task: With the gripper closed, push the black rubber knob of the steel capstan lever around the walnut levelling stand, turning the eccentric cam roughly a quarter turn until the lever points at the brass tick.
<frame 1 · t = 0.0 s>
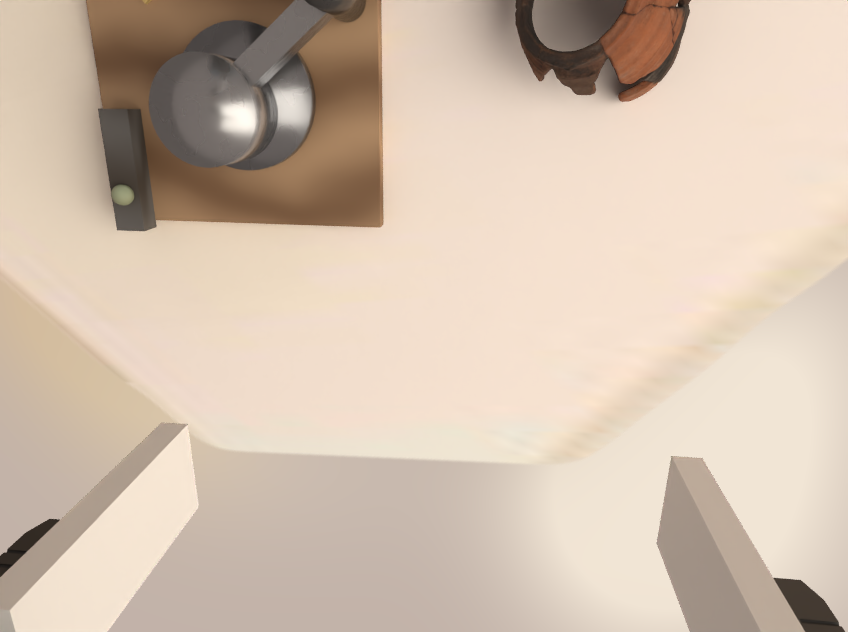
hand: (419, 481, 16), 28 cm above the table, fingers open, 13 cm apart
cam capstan: (260, 66, 36), point 5 cm above the table, hinge at 0.0°
stand board: (242, 78, 40), on the table
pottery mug: (614, 14, 37), on the table
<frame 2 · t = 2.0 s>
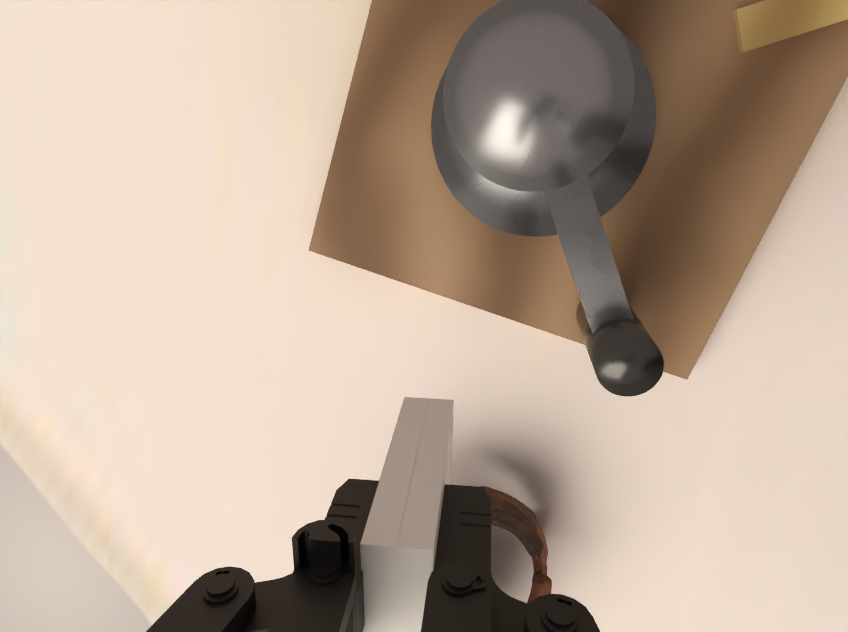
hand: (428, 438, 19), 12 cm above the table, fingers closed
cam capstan: (567, 198, 23), point 5 cm above the table, hinge at 0.0°
stand board: (571, 113, 27), on the table
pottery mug: (463, 549, 35), on the table
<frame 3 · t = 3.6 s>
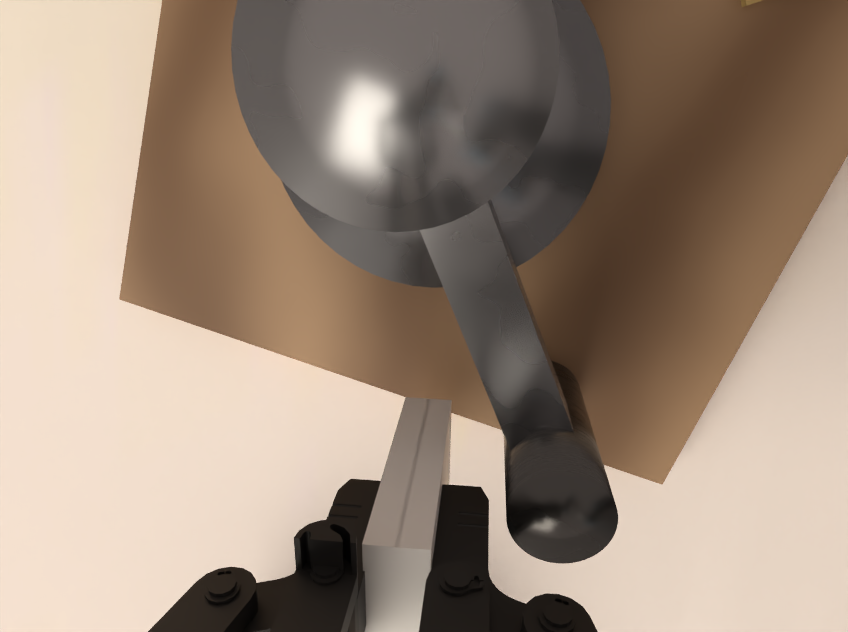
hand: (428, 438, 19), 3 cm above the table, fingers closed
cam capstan: (468, 236, 15), point 5 cm above the table, hinge at 0.3°, touching gripper
stand board: (490, 102, 18), on the table
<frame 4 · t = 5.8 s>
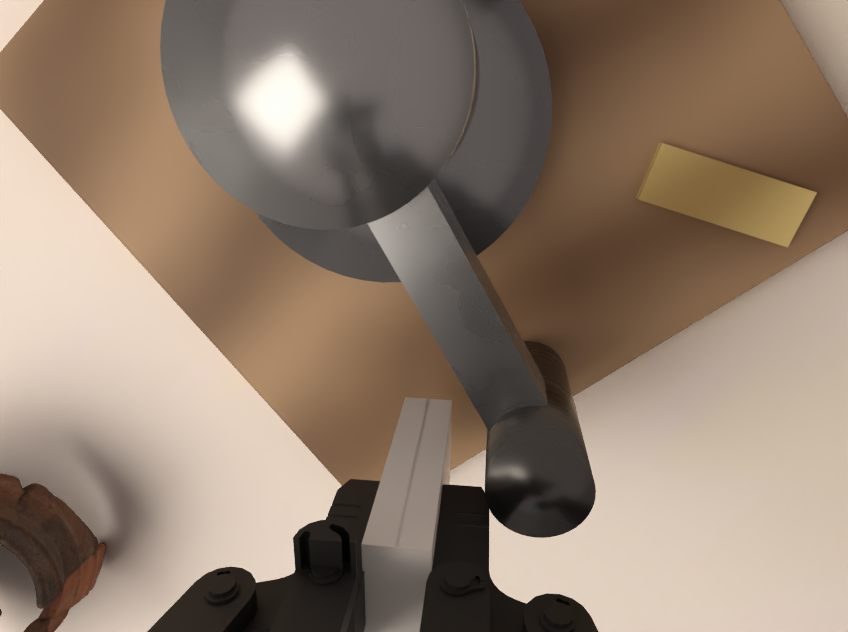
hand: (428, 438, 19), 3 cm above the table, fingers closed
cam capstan: (421, 225, 15), point 5 cm above the table, hinge at 41.3°, touching gripper
stand board: (416, 136, 19), on the table
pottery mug: (9, 533, 26), on the table
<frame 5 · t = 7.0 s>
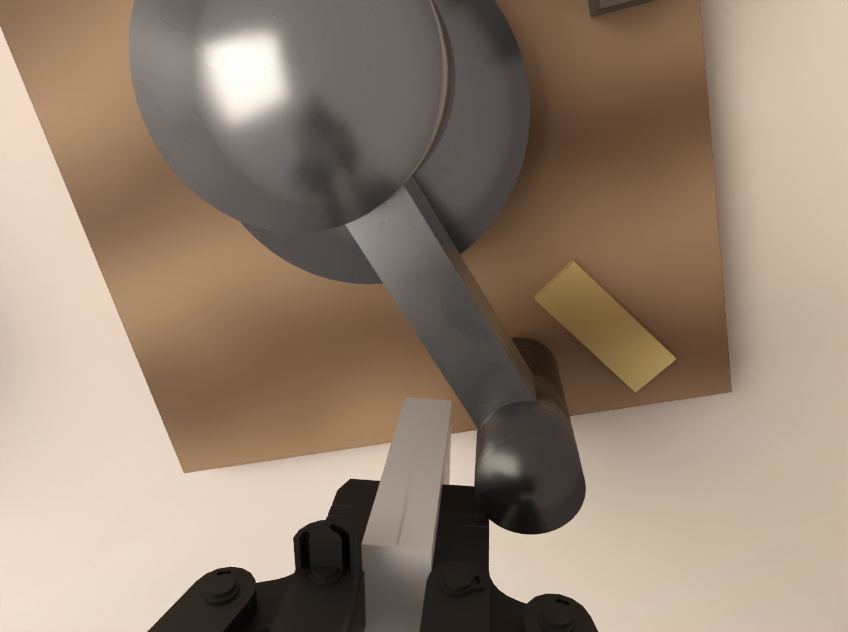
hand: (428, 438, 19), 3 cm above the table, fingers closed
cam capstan: (402, 225, 15), point 5 cm above the table, hinge at 68.7°, touching gripper
stand board: (370, 150, 19), on the table
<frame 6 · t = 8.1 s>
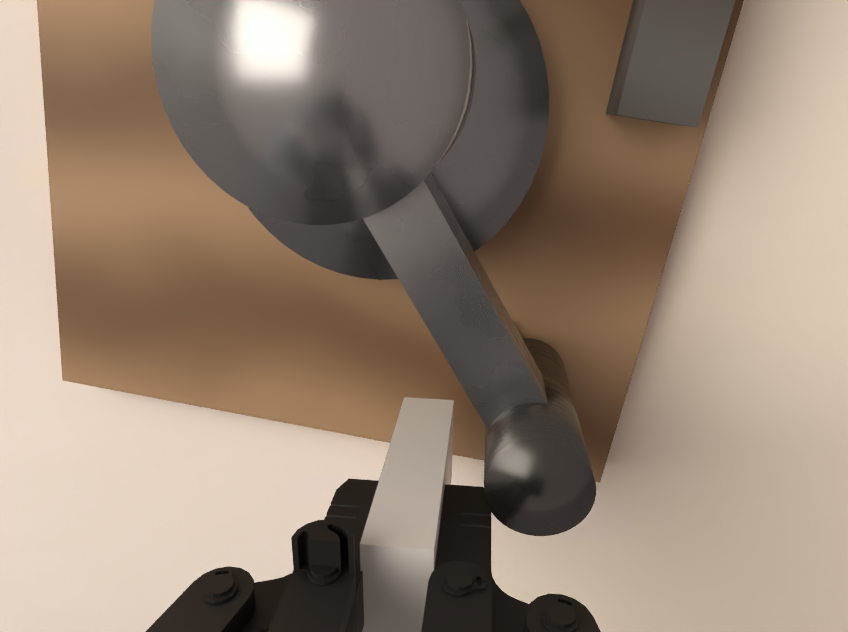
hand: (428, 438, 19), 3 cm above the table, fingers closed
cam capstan: (418, 221, 15), point 5 cm above the table, hinge at 88.3°, touching gripper
stand board: (362, 145, 19), on the table
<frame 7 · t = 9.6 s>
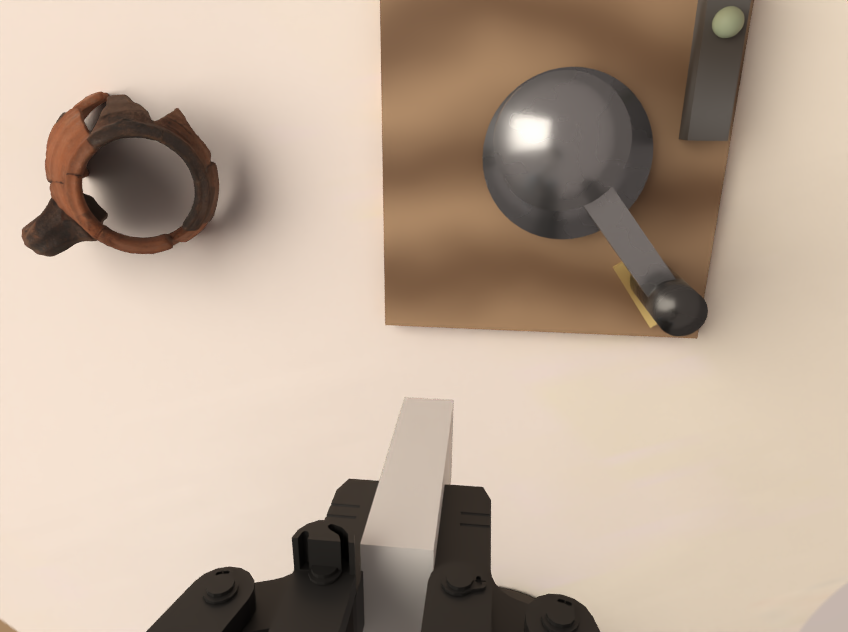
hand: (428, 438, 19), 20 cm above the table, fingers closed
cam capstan: (601, 203, 31), point 5 cm above the table, hinge at 88.5°
stand board: (546, 172, 35), on the table
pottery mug: (143, 176, 38), on the table
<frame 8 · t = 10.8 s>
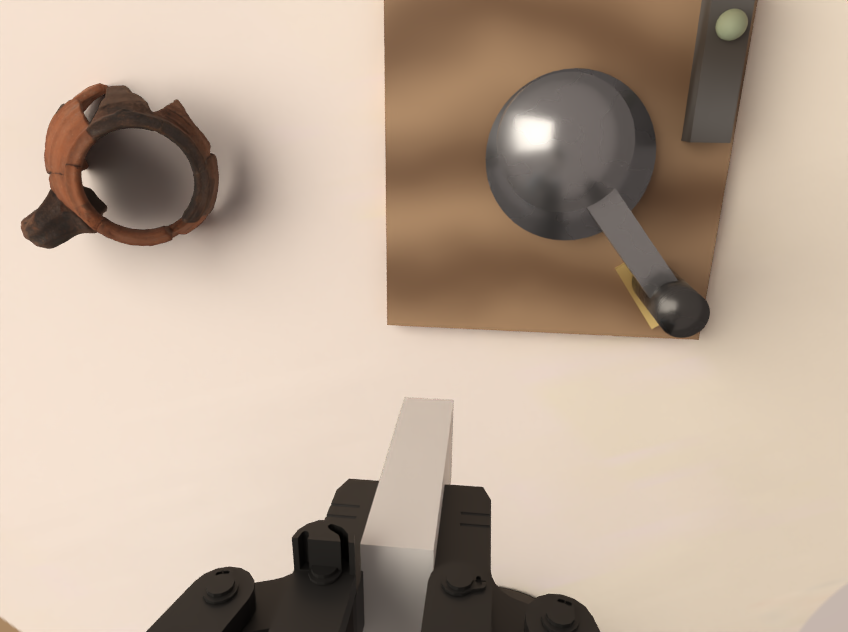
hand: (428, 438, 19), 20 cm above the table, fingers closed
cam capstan: (604, 205, 31), point 5 cm above the table, hinge at 88.5°
stand board: (549, 173, 35), on the table
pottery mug: (143, 169, 38), on the table
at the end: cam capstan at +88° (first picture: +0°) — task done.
